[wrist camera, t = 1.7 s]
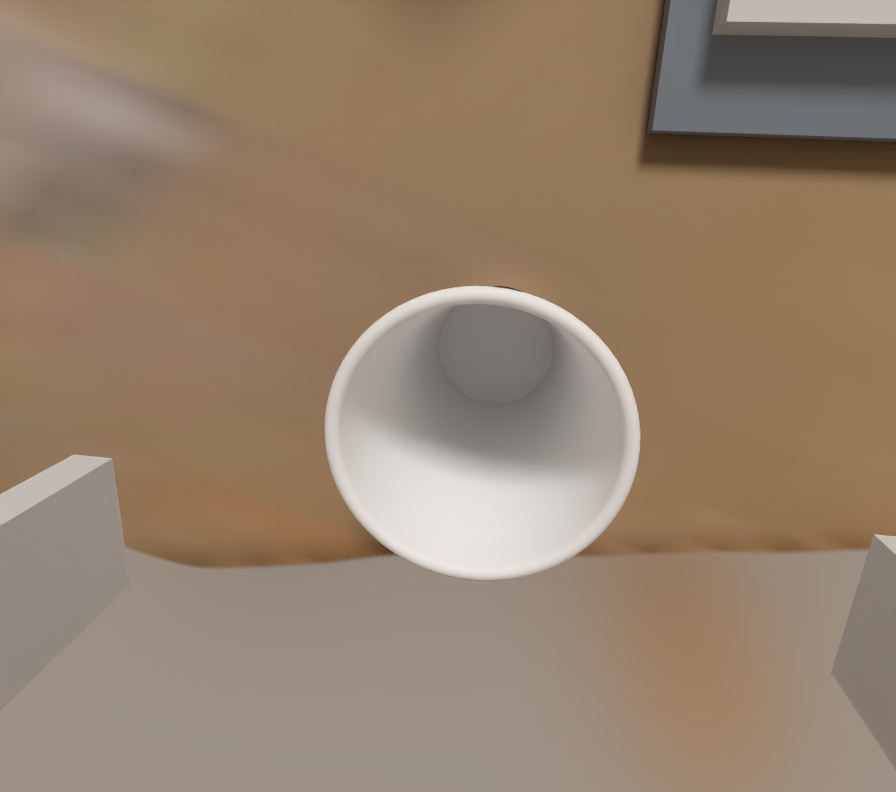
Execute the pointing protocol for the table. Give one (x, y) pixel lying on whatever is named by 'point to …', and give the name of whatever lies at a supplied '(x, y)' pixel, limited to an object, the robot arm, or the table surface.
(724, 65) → the carrier plate
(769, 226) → the table surface
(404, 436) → the dixie cup
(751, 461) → the table surface
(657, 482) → the table surface
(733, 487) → the table surface
